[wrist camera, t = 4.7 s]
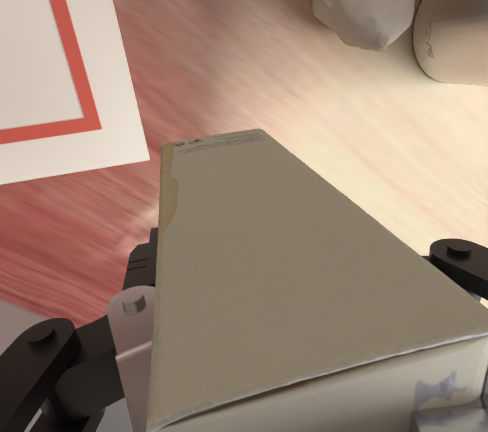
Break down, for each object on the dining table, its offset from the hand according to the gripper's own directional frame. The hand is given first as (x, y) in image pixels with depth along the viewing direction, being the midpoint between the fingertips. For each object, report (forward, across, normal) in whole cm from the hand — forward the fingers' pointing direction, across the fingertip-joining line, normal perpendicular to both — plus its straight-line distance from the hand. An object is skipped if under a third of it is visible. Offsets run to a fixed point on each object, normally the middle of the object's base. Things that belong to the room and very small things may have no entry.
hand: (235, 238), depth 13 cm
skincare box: (+4, 0, 0) cm, 4 cm away
